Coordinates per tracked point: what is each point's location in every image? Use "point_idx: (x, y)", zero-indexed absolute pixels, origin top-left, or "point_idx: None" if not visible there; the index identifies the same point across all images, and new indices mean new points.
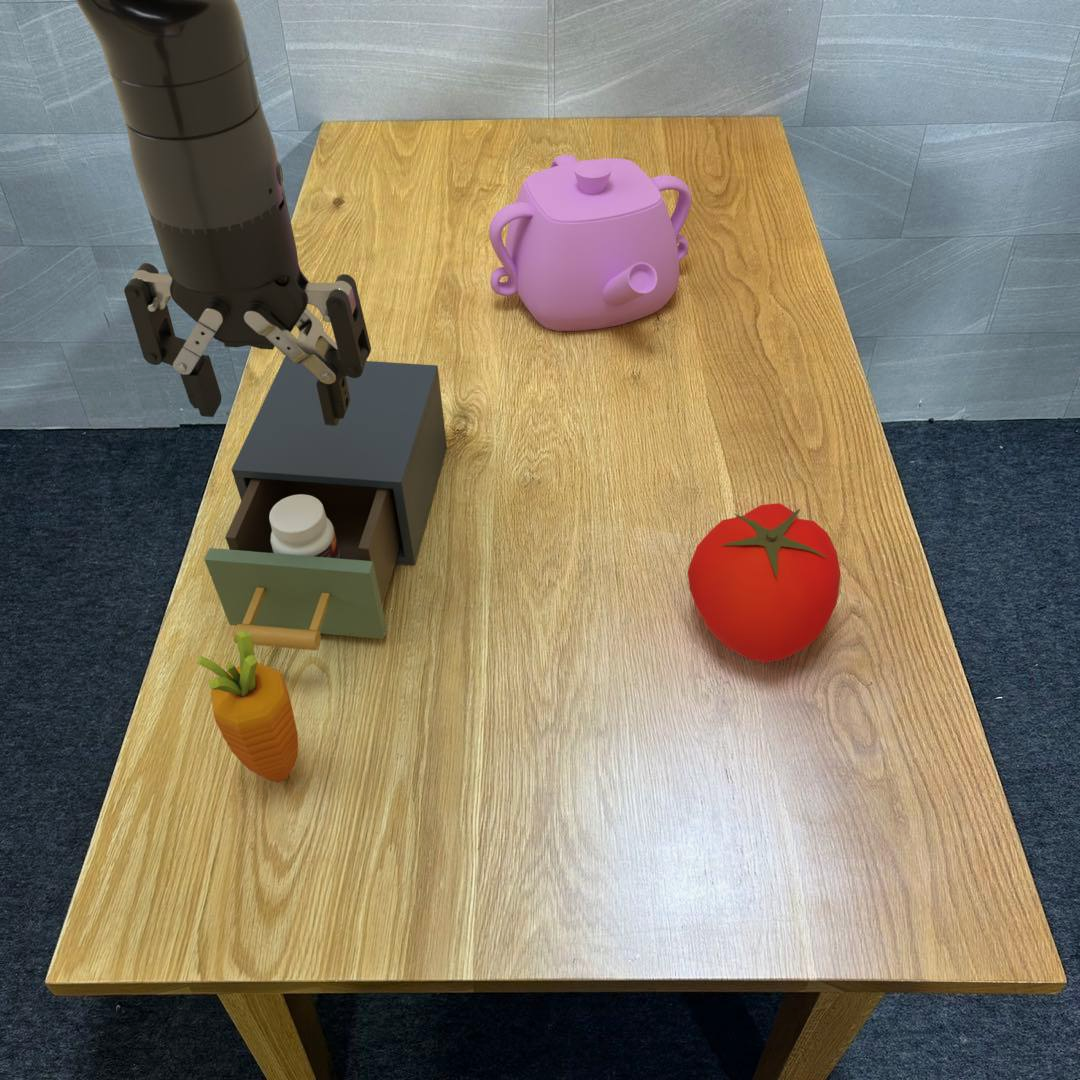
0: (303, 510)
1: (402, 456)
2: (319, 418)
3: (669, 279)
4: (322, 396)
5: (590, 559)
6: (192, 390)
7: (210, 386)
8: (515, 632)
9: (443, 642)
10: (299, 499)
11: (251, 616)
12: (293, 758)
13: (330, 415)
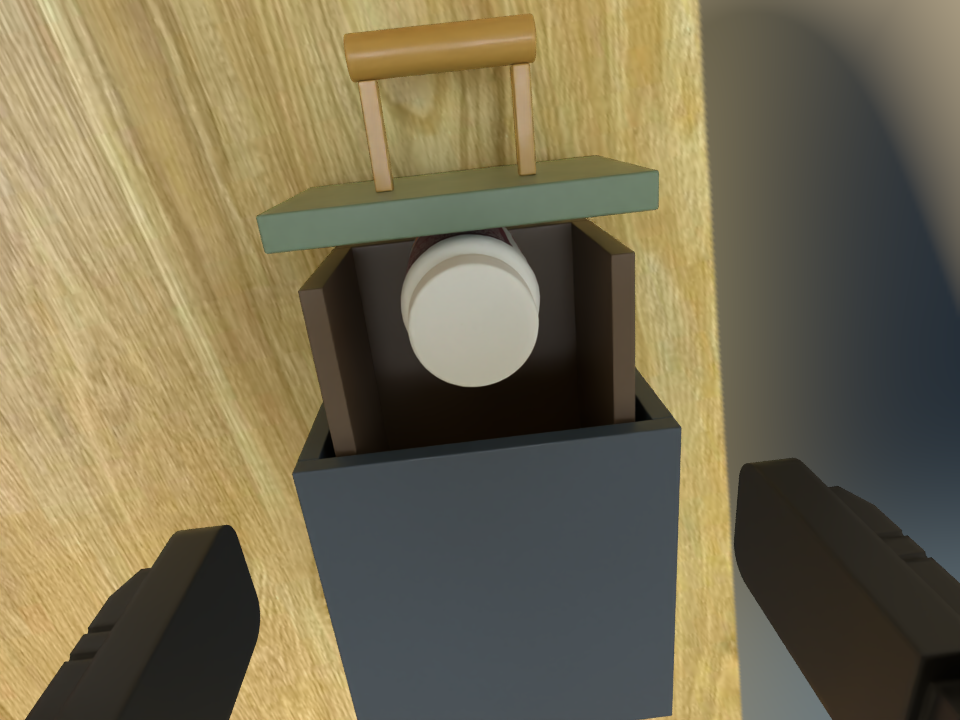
0: (459, 338)
1: (325, 538)
2: (543, 593)
3: None
4: (122, 667)
5: (61, 438)
6: (898, 557)
7: (803, 605)
8: (106, 266)
9: (217, 217)
10: (483, 369)
11: (515, 87)
12: None
13: (160, 569)
